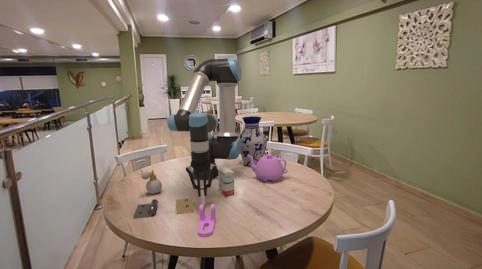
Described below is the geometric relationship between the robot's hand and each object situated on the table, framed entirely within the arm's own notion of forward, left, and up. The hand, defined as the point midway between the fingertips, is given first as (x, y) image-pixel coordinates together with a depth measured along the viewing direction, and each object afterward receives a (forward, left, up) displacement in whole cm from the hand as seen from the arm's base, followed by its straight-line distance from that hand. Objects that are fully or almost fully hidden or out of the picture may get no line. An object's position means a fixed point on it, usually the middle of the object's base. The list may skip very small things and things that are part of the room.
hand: (202, 203), depth 120 cm
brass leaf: (+8, 0, -2) cm, 8 cm away
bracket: (-1, +18, -2) cm, 18 cm away
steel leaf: (+24, 0, -1) cm, 24 cm away
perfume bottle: (+23, -19, -2) cm, 30 cm away
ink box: (-12, -12, -2) cm, 17 cm away
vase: (-33, -54, -2) cm, 63 cm away
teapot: (-36, -26, -2) cm, 44 cm away
